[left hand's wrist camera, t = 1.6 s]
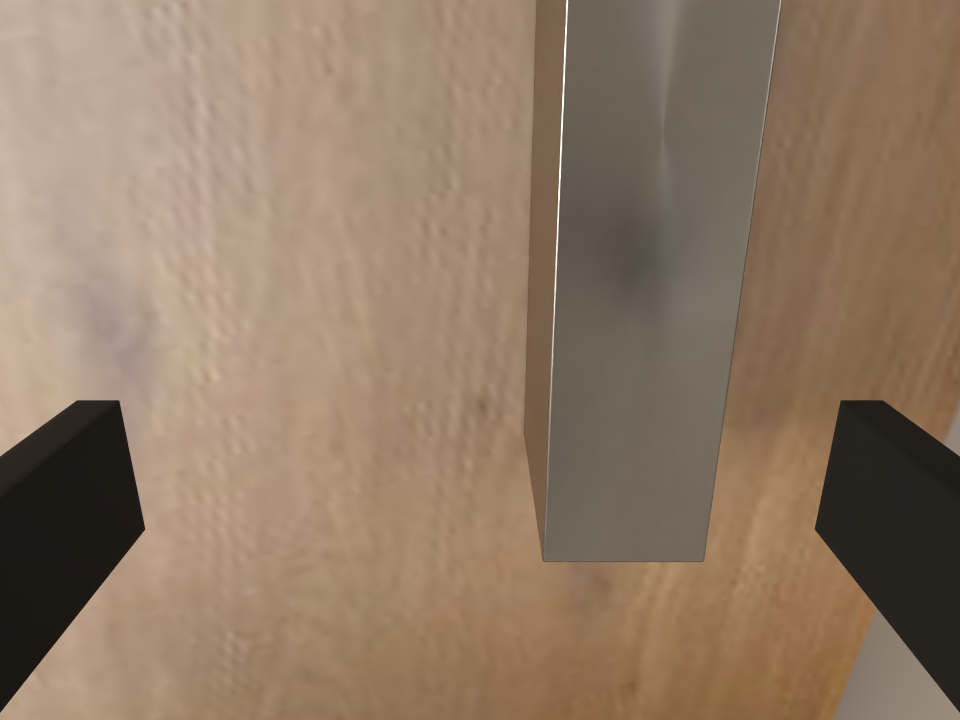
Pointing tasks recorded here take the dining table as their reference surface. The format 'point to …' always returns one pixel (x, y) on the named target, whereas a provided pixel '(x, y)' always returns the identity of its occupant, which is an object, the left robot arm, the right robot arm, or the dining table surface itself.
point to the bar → (638, 264)
